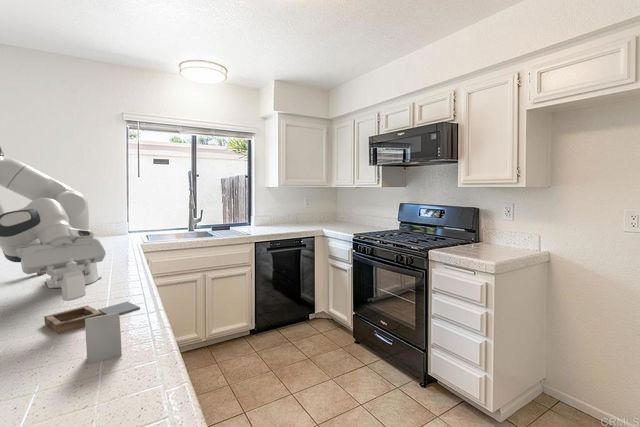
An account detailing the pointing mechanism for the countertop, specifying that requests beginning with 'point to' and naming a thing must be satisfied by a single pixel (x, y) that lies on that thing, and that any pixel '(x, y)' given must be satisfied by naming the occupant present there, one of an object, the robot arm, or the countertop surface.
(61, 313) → the block
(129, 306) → the coaster
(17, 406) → the countertop surface
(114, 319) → the white rectangular box
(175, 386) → the countertop surface
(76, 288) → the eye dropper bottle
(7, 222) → the robot arm
